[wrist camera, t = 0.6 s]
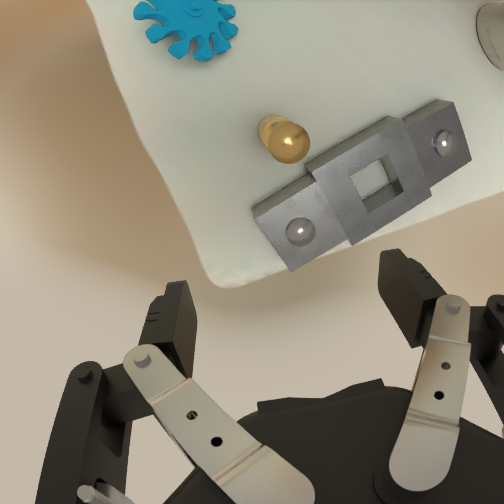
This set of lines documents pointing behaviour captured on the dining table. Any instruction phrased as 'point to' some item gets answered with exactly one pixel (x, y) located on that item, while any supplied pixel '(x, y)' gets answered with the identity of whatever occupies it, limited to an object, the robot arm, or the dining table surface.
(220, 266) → the dining table surface
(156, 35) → the gear
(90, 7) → the dining table surface
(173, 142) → the dining table surface
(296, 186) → the grey block with hole
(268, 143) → the pin
